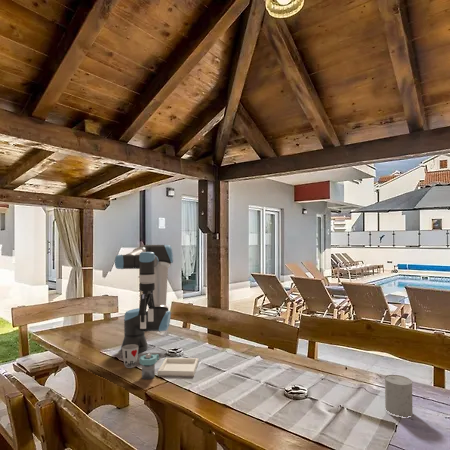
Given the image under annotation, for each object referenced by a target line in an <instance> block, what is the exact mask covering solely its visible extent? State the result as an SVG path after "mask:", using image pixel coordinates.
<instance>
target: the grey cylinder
mask: <svg viewBox="0 0 450 450" xmlns="http://www.w3.org/2000/svg"><path fill="white" fill-rule="evenodd" d="M384 394H385V395H384V399H385V400H384V405H385V406H384V409H385V408H386V410H387V411H389V412H390V413H392V414H395V415H399V416H403V417H408V416H412V414H413V381H412V379H410V378H409V377H406V376H403V375H398V374H388V375H385V376H384ZM413 415H414V414H413ZM412 417H413V416H412Z"/></svg>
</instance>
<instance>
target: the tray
mask: <svg viewBox="0 0 450 450" xmlns="http://www.w3.org/2000/svg"><path fill="white" fill-rule="evenodd" d="M198 365H199V357H198V358H196V357H195V358H194V357H165V359H164V360H163V362H162V363H161V365H160V367H159V368H158V369H157V376H158V377H184V378H185V377H193V378H194V377H195V375H196V372H197V368H198Z"/></svg>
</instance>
